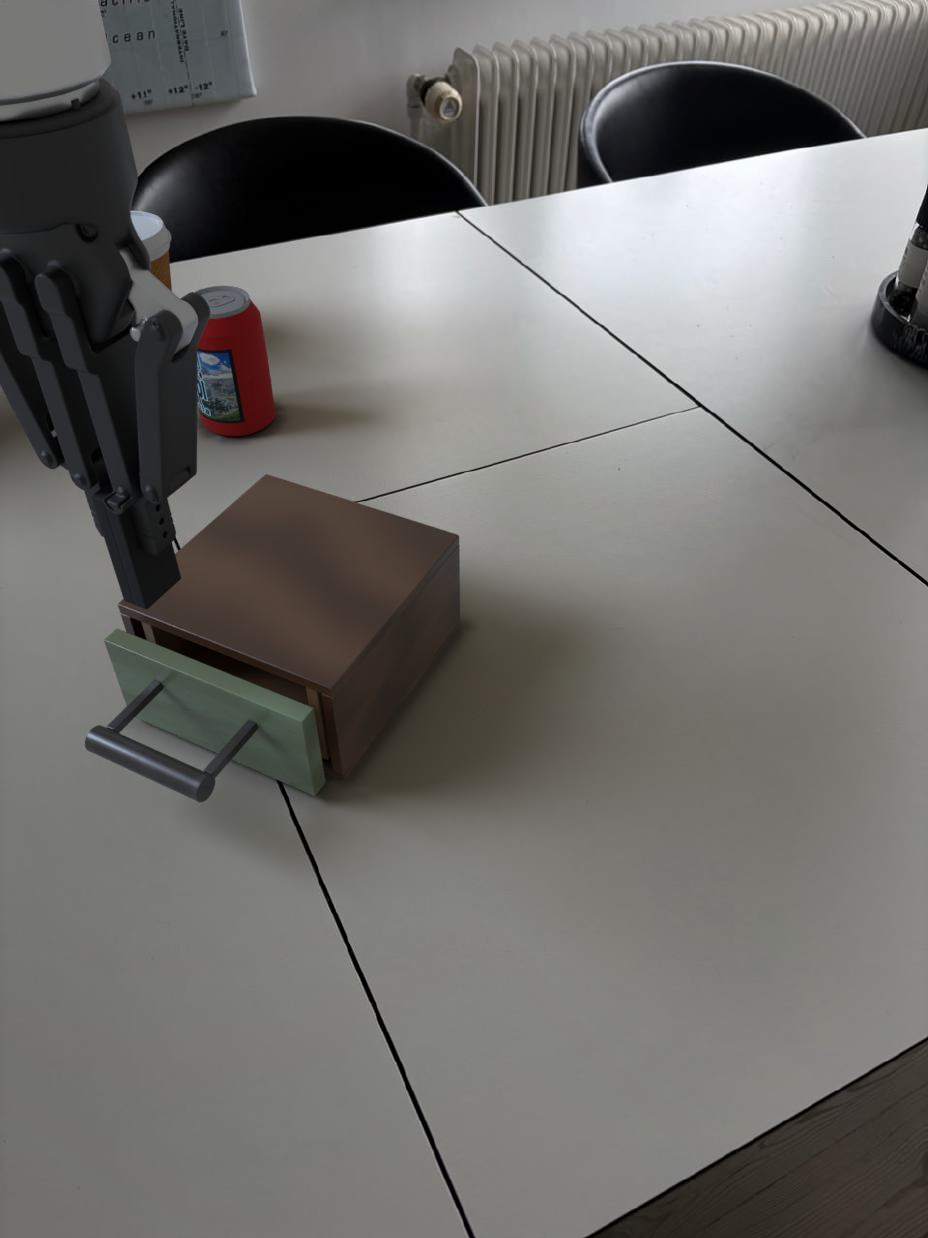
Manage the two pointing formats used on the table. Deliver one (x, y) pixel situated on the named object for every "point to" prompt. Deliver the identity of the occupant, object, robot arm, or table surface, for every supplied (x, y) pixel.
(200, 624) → the cabinet
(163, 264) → the disposable coffee cup
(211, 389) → the beverage can
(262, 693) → the drawer
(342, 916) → the table surface
